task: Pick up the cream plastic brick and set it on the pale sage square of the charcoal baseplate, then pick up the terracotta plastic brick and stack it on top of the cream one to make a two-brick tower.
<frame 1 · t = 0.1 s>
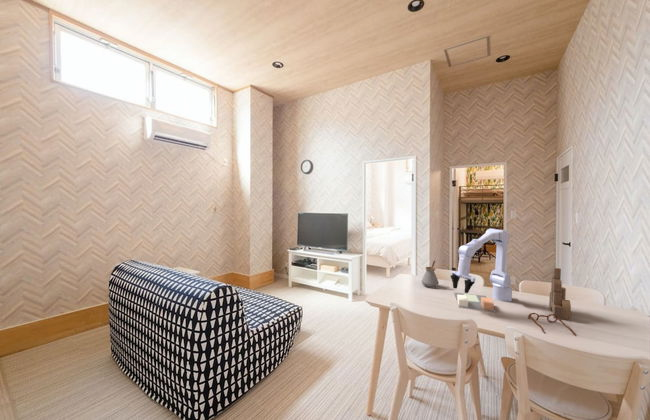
hand: (460, 290, 149), 10 cm above the table, tool pointing down, fingers open, 7 cm apart
glasses: (550, 329, 128), on the table
cream brick: (462, 304, 153), point 1 cm above the table, touching baseplate
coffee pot: (431, 284, 191), on the table
wooden toy: (559, 314, 142), on the table
baseplate: (472, 303, 157), on the table
terracotta brick: (486, 307, 149), point 1 cm above the table, touching baseplate
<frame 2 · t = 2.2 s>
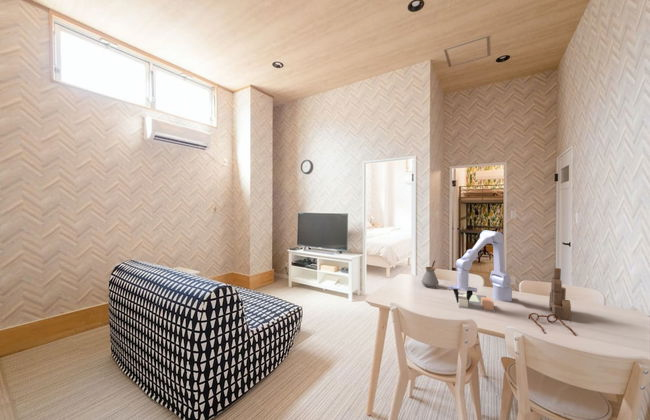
hand: (462, 302, 153), 2 cm above the table, tool pointing down, fingers closed on cream brick, 4 cm apart
cream brick: (462, 304, 153), point 1 cm above the table, touching baseplate, gripper
everything else where it was.
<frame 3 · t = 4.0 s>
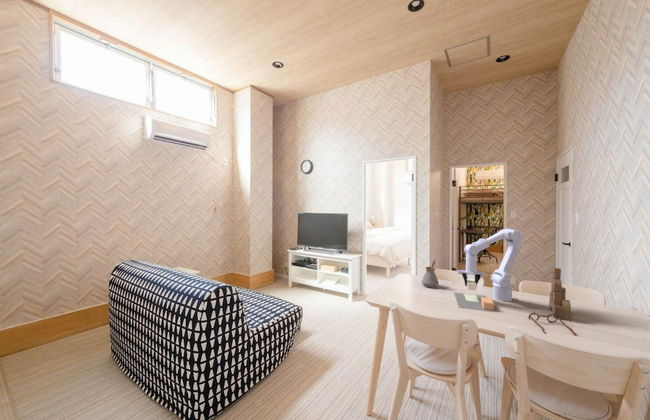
hand: (470, 286, 160), 9 cm above the table, tool pointing down, fingers closed on cream brick, 4 cm apart
cream brick: (470, 287, 160), point 8 cm above the table, touching gripper
everything else where it was.
when the fingers open (3 cm above the table, at t = 5.8 s): cream brick stays where it is, resting on baseplate.
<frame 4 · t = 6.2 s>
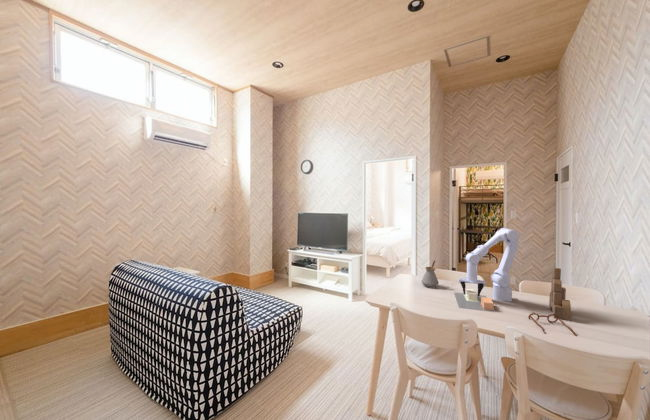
hand: (471, 294, 162), 3 cm above the table, tool pointing down, fingers open, 7 cm apart
cream brick: (471, 297, 162), point 1 cm above the table, touching baseplate
everything else where it was.
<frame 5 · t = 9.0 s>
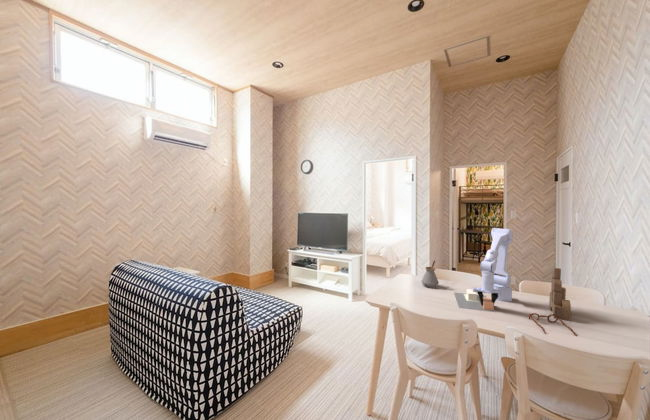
hand: (487, 305, 149), 2 cm above the table, tool pointing down, fingers closed on terracotta brick, 4 cm apart
terracotta brick: (486, 307, 149), point 1 cm above the table, touching baseplate, gripper
everything else where it was.
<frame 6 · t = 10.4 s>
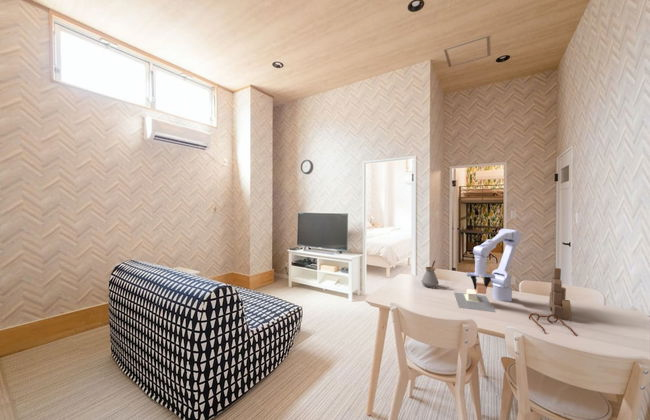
hand: (480, 289, 154), 9 cm above the table, tool pointing down, fingers closed on terracotta brick, 4 cm apart
terracotta brick: (480, 291, 154), point 8 cm above the table, touching gripper
everything else where it was.
when the fingers open (7 cm above the table, at t = 11.8 s): terracotta brick stays where it is, resting on cream brick.
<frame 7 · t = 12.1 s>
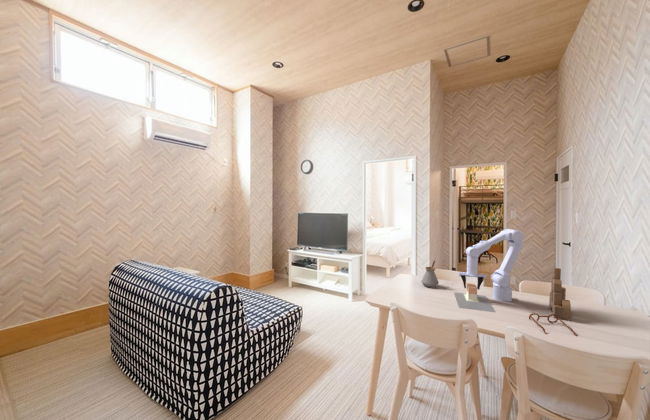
hand: (471, 288, 161), 7 cm above the table, tool pointing down, fingers open, 7 cm apart
cream brick: (471, 297, 162), point 1 cm above the table, touching baseplate, terracotta brick
terracotta brick: (471, 291, 161), point 5 cm above the table, touching cream brick
everything else where it was.
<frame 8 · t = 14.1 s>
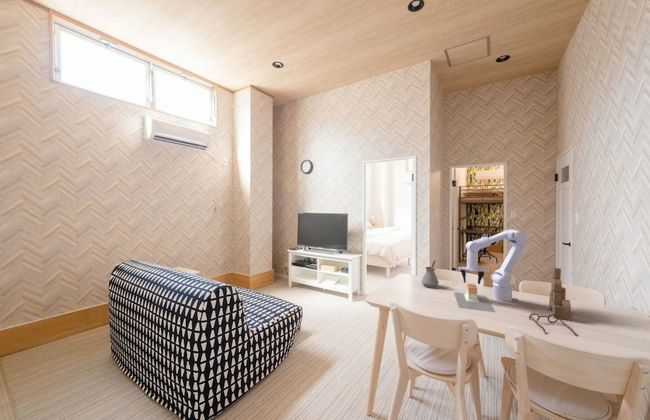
hand: (471, 283, 161), 10 cm above the table, tool pointing down, fingers open, 7 cm apart
nothing on the table moved.
at the end: cream brick 0.0 cm from the target spot, point 1.1 cm above the table; terracotta brick 0.1 cm off-centre on the cream brick, point 4.0 cm above the cream brick's base; terracotta brick tilted 0° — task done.
